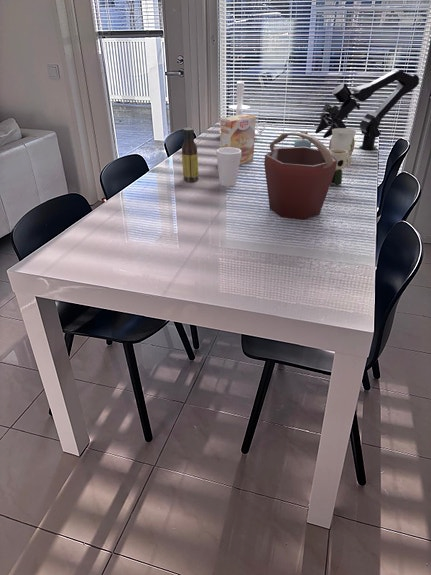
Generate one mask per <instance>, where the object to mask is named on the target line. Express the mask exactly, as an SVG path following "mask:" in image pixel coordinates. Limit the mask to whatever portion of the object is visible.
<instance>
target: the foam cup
mask: <svg viewBox="0 0 431 575" xmlns="http://www.w3.org/2000/svg"><path fill="white" fill-rule="evenodd" d="M240 158H241V150H240V149H238V148H232V147H225V148H220V147H219V148H218V149H216V160H217V168H218V169H217V170H218V178H219V185H220V186H222V187H228V188H229V187H234V186H236V185H237V183H238V182H237V181H238V175H239V169H240V165H239V164H240Z"/></svg>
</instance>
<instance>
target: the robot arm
mask: <svg viewBox="0 0 431 575" xmlns="http://www.w3.org/2000/svg"><path fill="white" fill-rule="evenodd" d="M395 81H397V84H396V87H395V89H394V90H393V92H391V94H390V95H388V97H387V98H386V99H385V100H384V101H383V102H382V103H381V104H380V105H379V107H378V108H377V109H376V110H374V112H373V113H371V114H370V113H366V114H365V115H364V117H363V118H362V119H361V121H360V123H359V129H360V131H361V134H362V135H363V139H362V143H361V145H360V146H358V148H359V149H364V150H368V151H372V150H374V149H377V146H375V142H376V138H380V135H381V131H380V130H379V129H378V128H379V126H380V125H381V122H382V119H383V118H384V117H385V116H386V115H387V114H388V112H390V111H391V109H392V108H393V107H395V105H396V104H397V103H398V102H399V101H400V100H401V99H402V98H403V97H404V96H405V95H407V94H409V93H410V92H412V91H413V90H415V88H417V87H418V85H419V84H420V78H419V75H417V74H412V73H406V72H404V71H402V70H401V69H396V68H395V69H392V70H391V71H389V72H387V73H386V74H384V75H382V76H380V77H378V78H376V79H375V80H373V81H371V82H368V83H365V84H360V85H358V86H355V87H354V88H353V89H349V87H348V84H347V83H346V82H342V83H341V84H338V85H337V86H336V87H334V89H333V90H332V91H331V94H332V95H333V96H334V98H335V99H336V101H337V102H338V103H339V104H340V105H339V106H337V105H335V104H333V105H330V104H328V103H325V104H324V106H323V108H322V111H323V112H321V113H320V114H319V116H320V118H319V119H320V121H319V124H318V125H317V128H316V129H315V131H314V133H315V134H319V133H320V132H322V131H324V130H325V129H327V128H328V127H329V128H328V129H327V131H325V133H324V134H323V136H322V137H323V139H327V138H328V137H332V130H333V129H335V128H347V125H346V124H345V122H343V121H344V120H345V119H348V118H349V115H350V114H351V113H352V112H353V111H354V109H356V110H357V111H359V110H361V103H359V102H366V101H367V100H368V99H369V98H371V97H372V96H373V94H374V93H375V92H377V91H379V90H381V89H383V88H384V87H386V86H388V85H390V84H392V83H394V82H395ZM357 101H359V102H357Z"/></svg>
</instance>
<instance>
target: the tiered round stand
mask: <svg viewBox="0 0 431 575" xmlns="http://www.w3.org/2000/svg"><path fill="white" fill-rule="evenodd" d="M293 147H308V148H312V143H311V142H310V141H309V140H307V139H302V138H298V139H294V145H293Z"/></svg>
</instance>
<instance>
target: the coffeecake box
mask: <svg viewBox="0 0 431 575" xmlns="http://www.w3.org/2000/svg"><path fill="white" fill-rule="evenodd" d="M256 121H257V117H256V116H255V115H251V114H246V113H244V114H243V115H238V116H235V115H233V116H227V117H220V130H221V133H220V132H219V133H220V134H219V135H220V137H219V141H220V143H219V144H220V145H219V148H225V147H232V148H238V149H240V150H241V158H240V164H239V166H240V165H241V166H242V165H244V164H249V163H252V162H254V153H255V141H256V139H255V137H256V135H255V130H256Z"/></svg>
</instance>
